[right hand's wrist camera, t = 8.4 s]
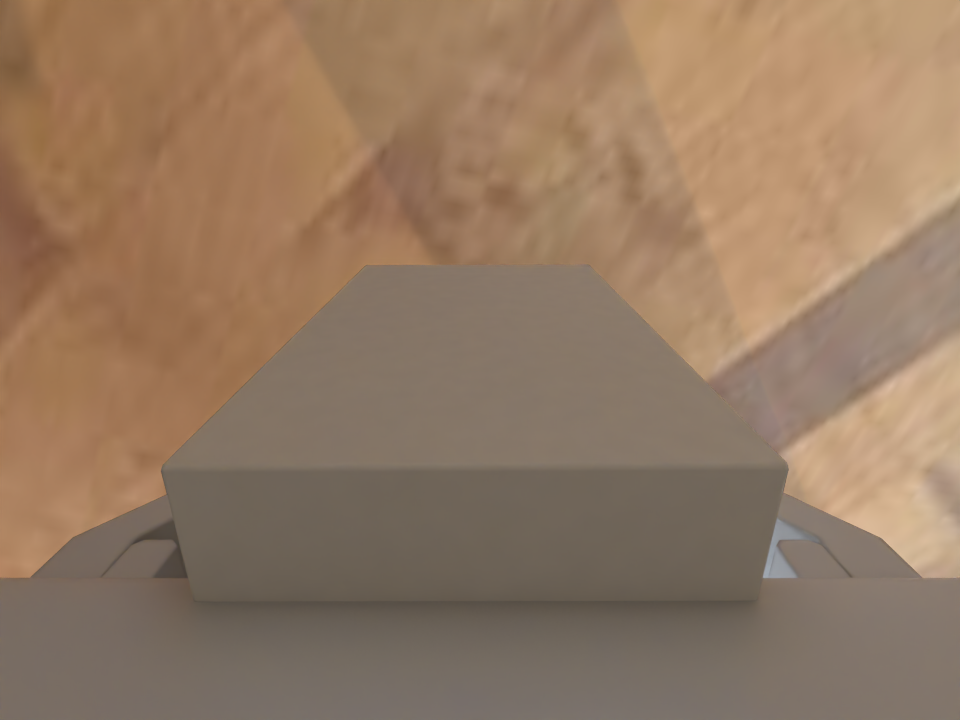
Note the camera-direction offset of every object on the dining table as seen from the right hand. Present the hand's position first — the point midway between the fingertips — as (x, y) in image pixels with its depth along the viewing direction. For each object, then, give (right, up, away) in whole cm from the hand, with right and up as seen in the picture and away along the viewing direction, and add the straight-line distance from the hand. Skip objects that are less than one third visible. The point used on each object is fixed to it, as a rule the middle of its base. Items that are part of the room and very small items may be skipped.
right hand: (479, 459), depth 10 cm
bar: (0, -8, +7) cm, 11 cm away
